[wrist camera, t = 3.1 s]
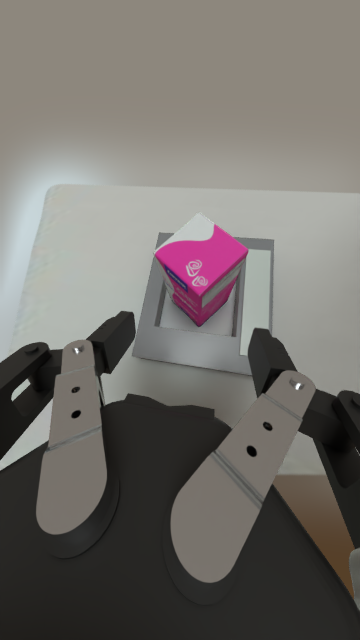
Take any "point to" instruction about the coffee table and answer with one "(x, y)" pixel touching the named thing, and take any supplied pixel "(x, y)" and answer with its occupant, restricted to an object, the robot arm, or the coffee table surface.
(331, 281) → the coffee table surface
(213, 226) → the supplement box
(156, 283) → the divided tray
